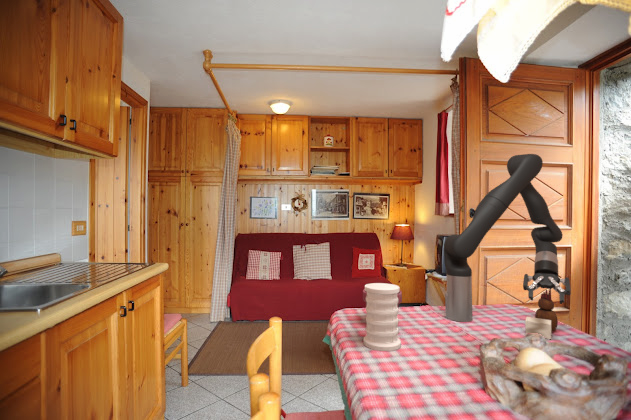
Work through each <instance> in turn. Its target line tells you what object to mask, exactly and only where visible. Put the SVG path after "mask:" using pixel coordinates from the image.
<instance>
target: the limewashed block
mask: <svg viewBox="0 0 631 420" xmlns="http://www.w3.org/2000/svg"><path fill="white" fill-rule="evenodd" d="M524 326H525V335H526V334H527V333H538V334H541V335H542V336H544V337H546V338H547V339H551V340H552V336H551V335H552V332H551V320H546V319H539V318H535V317H532V316H526V318H525V325H524ZM547 339H546V340H547Z"/></svg>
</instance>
